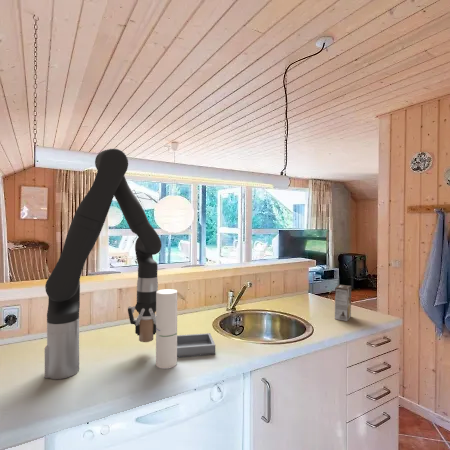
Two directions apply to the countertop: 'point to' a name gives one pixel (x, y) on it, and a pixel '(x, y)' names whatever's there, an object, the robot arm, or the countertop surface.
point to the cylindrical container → (166, 328)
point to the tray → (195, 345)
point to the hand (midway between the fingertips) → (146, 334)
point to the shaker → (146, 329)
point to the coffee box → (343, 302)
